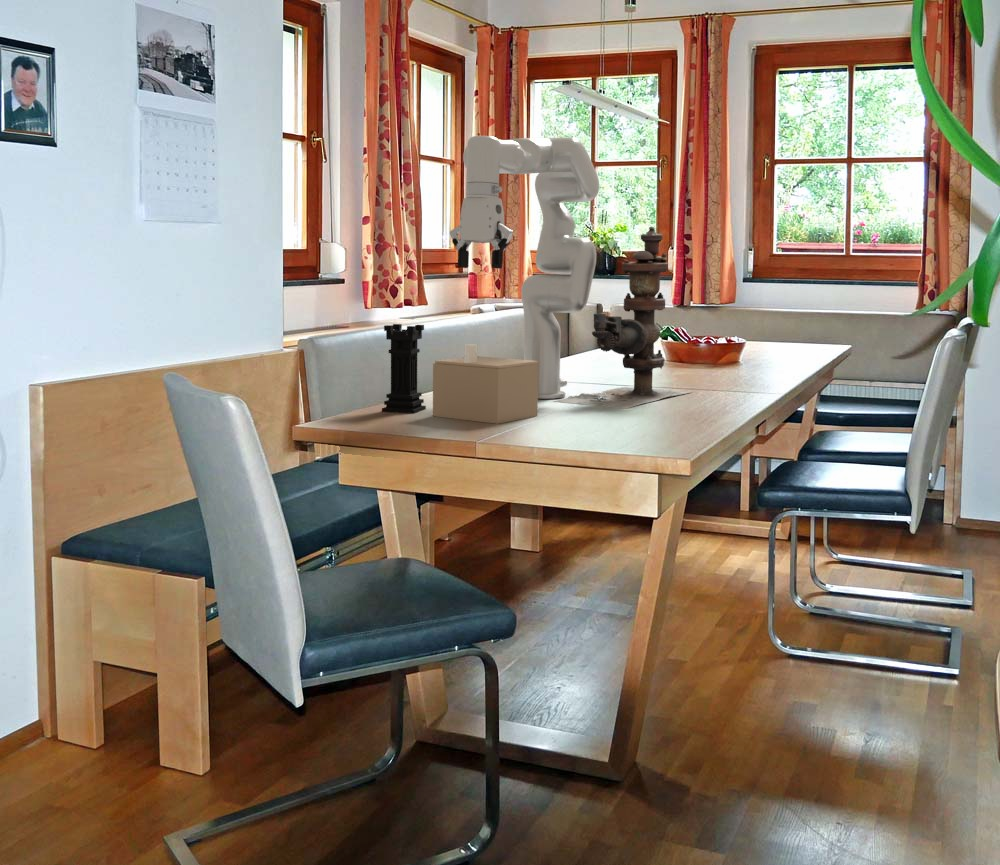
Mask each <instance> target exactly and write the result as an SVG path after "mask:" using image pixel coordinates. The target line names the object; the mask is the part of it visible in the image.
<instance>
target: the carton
mask: <svg viewBox="0 0 1000 865" xmlns="http://www.w3.org/2000/svg"><path fill="white" fill-rule="evenodd" d="M432 368H433V369H432V416H433V417H438V418H445V419H447V418H448V419H453V420H454V419H455V420H464V421H473V422H481V423H487V424H488V423H490V424H495V425H496V424H497V425H498V424H502V423H508V422H513V421H518V420H523V419H528V418H533V417H538V407H539V406H538V404H539V403H538V401H539V399H538V364H531V365H523V366H515V367H507V368H500V369H497V368H486V367H474V366H462V365H450V364H439V363H435V362H434V363H433V364H432Z"/></svg>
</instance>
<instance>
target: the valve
mask: <svg viewBox="0 0 1000 865" xmlns="http://www.w3.org/2000/svg"><path fill="white" fill-rule="evenodd" d="M663 236H664V235H663V234H661V233H657V232H656V231H655V227H654V226H650V227H648V231H647V232H646V233H643V234H640V240H641V241H642V242H643V243H644V250H639V251H636V252H635V253H633V254H632V256H631V257H630V259H631V260H635V261H630V260H628V259H624V260H623V262H622V263H621V270H622V272H623V274H624V275H625V274H627V275H628V274H629V276H628V277H629V291H630V293H629V292H627V293H626V295H625V297H624V299H623V309H624V311H625V312H631V311H633V313H634V314H633V316H634V317H633V319H631V318H627V319H625V318H624V319H623V318H622V316H618V315H617V316H616V315H615V316H613V315H612V316H609V315H607V313H606V312H603V304H602V303H596V313H593V329H594V330H595V331H592V332H591V334H592V336H593V337H594V338H596V344H597V347H598V348H599V349H600V350H601V351H603V352H606V353H607V352H609V351H613V353H616V354H619V355H623V356H624V357H622V366H623V368H624V369H630V370H631V369H632V370H633V376H634V377H633V380H634V381H633V382H634V383H633V387H632V386H631V387H630V386H622V387H616V388H611V389H607V390H604V391H601V392H596V393H595V392H594V393H593V392H592V393H585V392H584V393H583V392H582V393H580V394H579V395H574V396H572V395H571V396H570V395H569V396H568V397H565V398H560V399H558V400H554V402H557V403H564V404H565V403H566V404H576V405H586V406H588V405H592V406H597V407H606V408H608V407H609V408H615V409H616V408H617V409H629V408H632V407H635V406H639V405H642V404H647V403H651V402H655V401H659V400H661V399H665V398H669V397H674V396H682V395H685V394H690V393H693V391H682V390H680V391H678V390H670V389H669V390H668V389H660V388H653V370H654V369H657V368H658V369H659V368H660V370H662V368H663V367H664V365H665V361H666V359H665V358H664V356H663V354H662V350H661V349H658V350H657V353H655V352H654V351H655V350H654V348H655V343H656V342H657V341H658V340H659V339H660V336H661V331H660V327H659V326H658V325H657V324H656V323H655V311H663V310H665V309H666V298H664V295H663V293H662V292H660V289H661V288H660V287H661V285H660V284H661V273H665V272H667V271H668V270H669V262H667V260H668V257H667V254H666V253H662V254H661V256H660V255H658V253H659V250H660V249H659V246H660V245H659V243H661V241H662V240H664V239H663V238H664V237H663ZM631 294H632V295H633V297H631ZM656 295H657V297H656Z"/></svg>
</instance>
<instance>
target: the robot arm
mask: <svg viewBox="0 0 1000 865" xmlns="http://www.w3.org/2000/svg"><path fill="white" fill-rule="evenodd" d="M462 161H463V164H464V166H465V168H466V169H465V170H466V174H465V175H466V176H465V178H466V179H465V197H463V201H462V204H461V210H460V216H459V217H460V218H459V219H460V220H459V225H457V226H456V227H454V228H453V229H451V230H450V231H449V235H450V238H451V241H452V244H453V246H454V247H455V250H457V267H458V268H459V269H460V268H461V269H468V268H469V256H470V254H469V253H470V252H469V250H468V249H469V247H470V245H471V244H472V243H476V244H477V243H478V244H479V243H481V244H483V243H484V244H485V243H487V244H488V243H490V244H491V245H492V247H493V249H492V251H491V268H492V269H503V264H504V263H503V261H504V252H505V250H506V249H507V247H508V245H510V242H511V241H510V240H511V239H512V237H513V235H514V231H513V230H512V229H511V228H509V227H507V226H506V225H505V212H504V205H503V201H502V198H500V197H499V194H500V193H502V192H503V187H502V186H501V185H500V174H501V175H502V174H508V175H509V174H510V175H511V174H512V175H529V174H537V175H536V176H535V181H534V188H535V194H536V196H537V201H538V205H539V206H540V210H541V213H542V226H541V231H540V235H539V241H538V245H537V249H536V251H535V252H536V253H535V260H534V261H535V266H536V268H537V269H538V271H540V272H542V273H543V274H534V275H531V276H529V277H527V278H526V279H525V280H524V281H523V282H522V286H521V288H520V292H521V293H520V295H521V302H522V308H523V319H524V321H523V322H524V326H523V328H524V330H523V331H524V334H523V335H524V338H523V347H524V348H523V360H531V361H538V400H543V399H548V400H550V399H551V400H552V399H563V398H564V397H565V398H566V392H565V391H563V390H561V388H563V387H567V385H568V382H567V380H566V379H565V378H563V379H561V376H560V375H561V338H562V331H561V330H562V329H561V326H560V323H559V321H558V320H557V318H556V316H555V315H554V313H564V314H565V313H566V314H569V313H570V314H578V313H580V312H582V311H584V310H585V309H586V307H587V304H588V302H589V301H588V300H589V297H590V293H591V289H592V288H591V287H592V283H593V279H594V275H595V270H596V264H597V250H596V247H595V244H594V242H593V241H592V240H591V239H589V238H588V237H580V236H579V237H578V236H575V237H574V235H575V234H574V233H575V228H576V221H575V219H574V217H573V215H572V214H571V212H570V211H569V209H568V208H567V207H566V205H565V204H564V203H586V202H587V203H588V202H591V201H593V200H594V199H596V198H597V196H598V194H599V191H600V179H599V175H598V173H597V171H596V169H595V166H594V164H593V162H592V159H591V157H590V155H589V153H588V151H587V150H586V148H585V146H584V145H583V143H582V141H580V140H579V139H578V138H576V137H573V136H572V137H571V136H570V137H569V136H568V137H543V138H542V137H537V138H535V137H534V138H533V137H531V138H530V137H522V138H512V139H499V138H497V137H495V136H491V135H475V136H471V137H469V139H468V140H467V143H466V146H465V148H464V151H463V156H462Z"/></svg>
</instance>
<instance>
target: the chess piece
mask: <svg viewBox="0 0 1000 865" xmlns="http://www.w3.org/2000/svg"><path fill="white" fill-rule="evenodd" d="M402 328H403V327H402V324H401V323H393V324H392V325H390V324H389V325H388V324H386V325H385V324H384V326H383V331H384V332H385V334H386V338H385V339H386V340H388V341H389V340H390V349H388V354H390V393H386V395H385V396H386V397H385V398H386V400H385V401H383V405H384V406H385V407H382V408H381V412H383V413H384V412H385V413H397V412H398V414H399V413H401V414H417V413H419V412H421V411H422V412H423V411H425V410H426V409H427V406H426V405H422V404H424V399H423V398H420V397H423V396H422V394H423V393H422V392H418V353H420V348H418V340H422V339H423V331H424V330H425V324H415V325H406V329H404V328H403V329H402ZM387 399H388V400H387Z"/></svg>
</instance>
